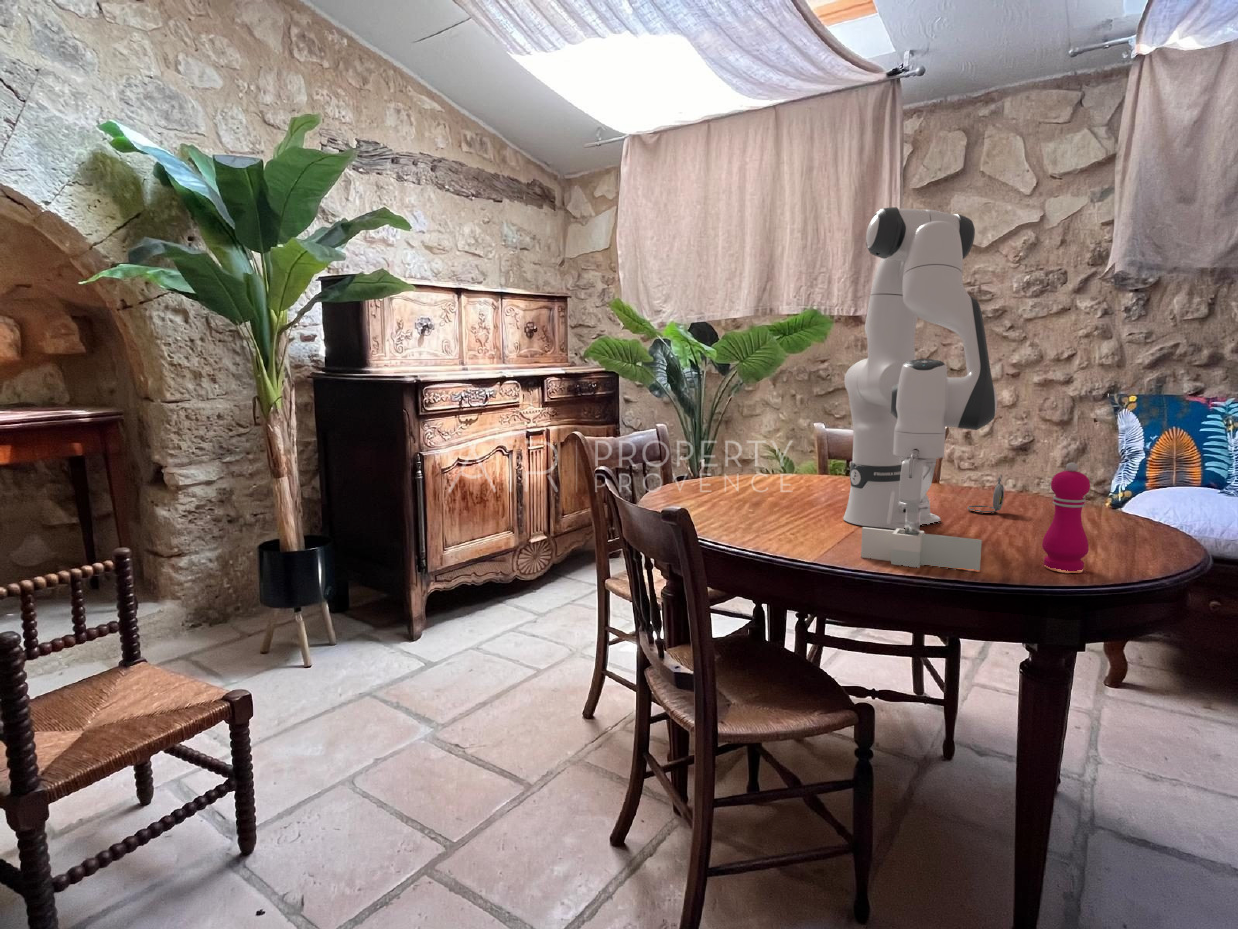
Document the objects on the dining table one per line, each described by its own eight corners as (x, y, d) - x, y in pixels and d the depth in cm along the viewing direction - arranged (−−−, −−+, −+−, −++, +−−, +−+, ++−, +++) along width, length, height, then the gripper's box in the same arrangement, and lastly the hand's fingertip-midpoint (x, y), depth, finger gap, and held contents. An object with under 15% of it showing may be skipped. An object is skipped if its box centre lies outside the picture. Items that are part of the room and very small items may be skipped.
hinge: (980, 568, 130) (982, 537, 129) (978, 575, 126) (980, 543, 125) (864, 553, 141) (865, 524, 140) (858, 560, 137) (859, 530, 136)
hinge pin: (912, 530, 137) (915, 499, 136) (933, 537, 132) (935, 504, 131) (890, 532, 135) (892, 500, 134) (910, 538, 130) (912, 505, 129)
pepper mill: (1031, 564, 132) (1039, 460, 129) (1067, 562, 133) (1076, 459, 130) (1058, 575, 125) (1067, 466, 122) (1096, 574, 126) (1106, 464, 123)
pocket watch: (963, 509, 180) (966, 470, 179) (998, 509, 179) (1000, 471, 178) (975, 516, 172) (977, 476, 171) (1011, 516, 171) (1014, 476, 170)
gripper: (931, 454, 120) (925, 532, 123) (941, 442, 138) (936, 510, 140) (892, 452, 123) (887, 528, 126) (907, 440, 141) (903, 507, 143)
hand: (913, 518), depth 133 cm, fingers closed on hinge pin, 3 cm apart
